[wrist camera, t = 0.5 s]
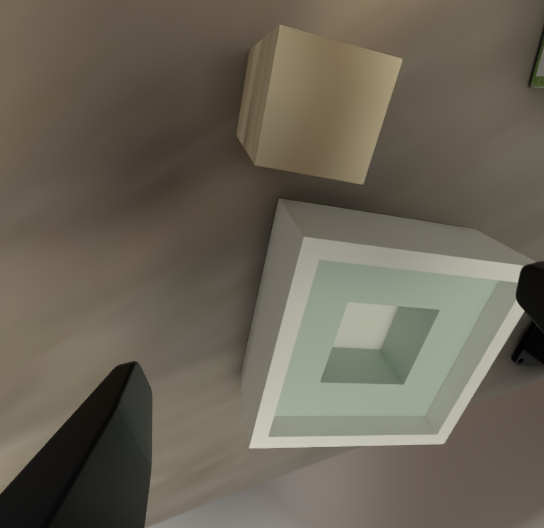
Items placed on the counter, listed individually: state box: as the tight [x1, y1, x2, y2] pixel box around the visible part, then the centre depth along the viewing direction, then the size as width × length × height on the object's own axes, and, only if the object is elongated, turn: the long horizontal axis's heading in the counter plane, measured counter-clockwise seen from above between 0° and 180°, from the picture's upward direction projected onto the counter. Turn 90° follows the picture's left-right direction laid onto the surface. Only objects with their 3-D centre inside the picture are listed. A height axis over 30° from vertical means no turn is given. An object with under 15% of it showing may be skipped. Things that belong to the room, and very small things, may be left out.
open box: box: [240, 198, 536, 448], centre depth 22 cm, size 14×14×6 cm
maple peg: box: [236, 25, 403, 185], centre depth 15 cm, size 4×4×8 cm
